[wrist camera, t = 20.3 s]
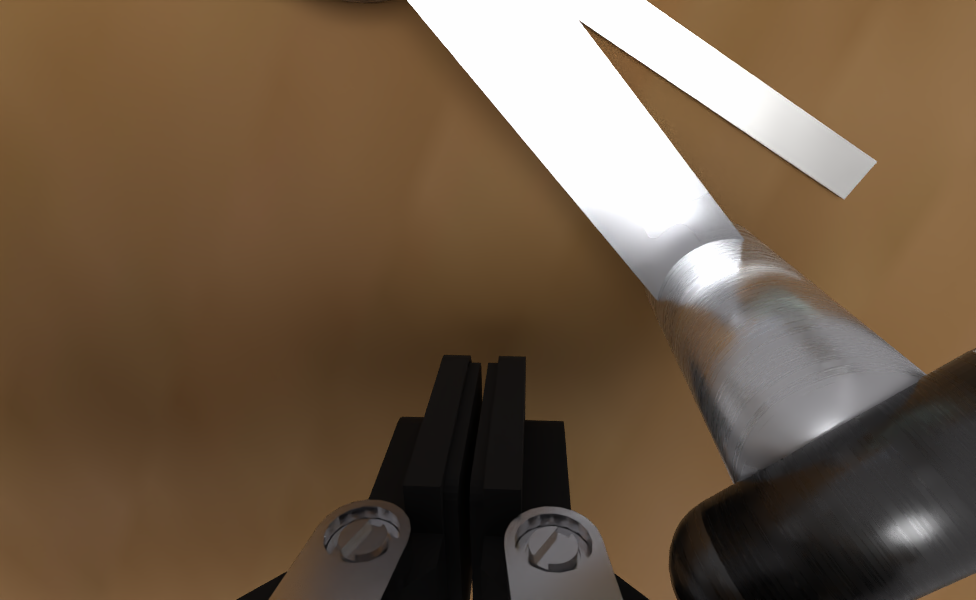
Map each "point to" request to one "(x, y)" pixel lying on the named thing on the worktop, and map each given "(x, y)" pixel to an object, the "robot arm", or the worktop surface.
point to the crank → (744, 345)
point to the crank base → (724, 89)
